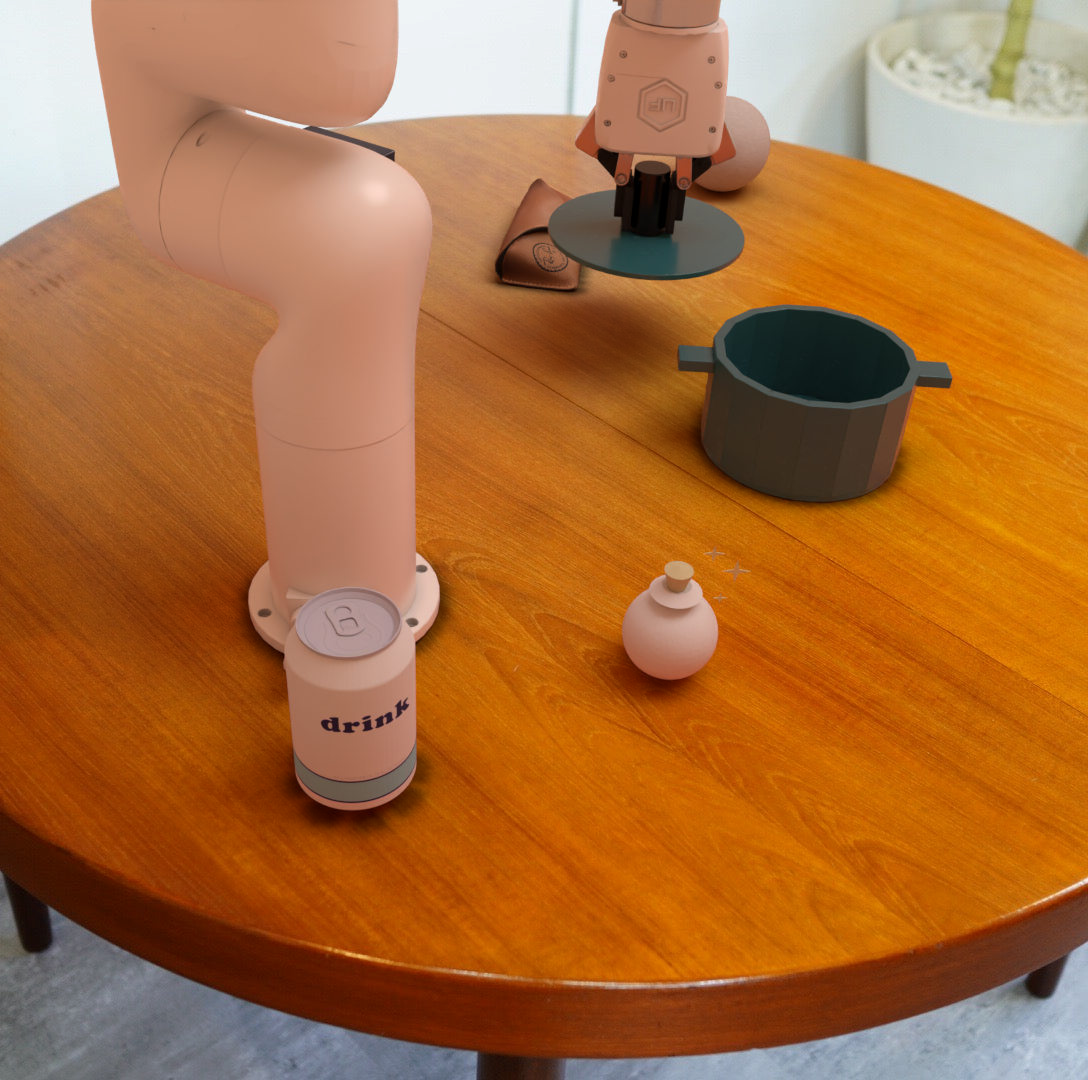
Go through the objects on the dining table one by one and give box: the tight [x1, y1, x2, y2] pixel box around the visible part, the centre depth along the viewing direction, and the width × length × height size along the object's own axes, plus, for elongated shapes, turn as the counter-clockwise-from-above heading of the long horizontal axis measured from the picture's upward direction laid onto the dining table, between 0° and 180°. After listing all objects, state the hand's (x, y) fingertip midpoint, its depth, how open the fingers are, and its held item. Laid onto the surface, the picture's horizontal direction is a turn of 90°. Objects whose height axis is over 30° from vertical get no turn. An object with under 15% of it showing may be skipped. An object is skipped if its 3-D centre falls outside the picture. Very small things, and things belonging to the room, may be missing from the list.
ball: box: [694, 95, 771, 193], centre depth 144 cm, size 10×10×10 cm
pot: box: [676, 303, 954, 503], centre depth 104 cm, size 16×21×8 cm
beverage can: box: [283, 587, 417, 811], centre depth 73 cm, size 7×7×12 cm
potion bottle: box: [621, 544, 751, 681], centre depth 82 cm, size 6×7×10 cm
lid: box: [548, 159, 746, 282], centre depth 110 cm, size 17×17×7 cm
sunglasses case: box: [494, 178, 582, 291], centre depth 131 cm, size 18×7×7 cm
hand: (647, 224), depth 111 cm, fingers closed on lid, 3 cm apart
